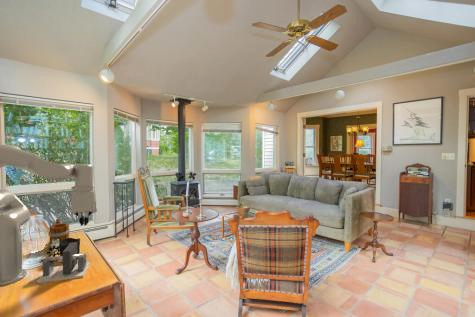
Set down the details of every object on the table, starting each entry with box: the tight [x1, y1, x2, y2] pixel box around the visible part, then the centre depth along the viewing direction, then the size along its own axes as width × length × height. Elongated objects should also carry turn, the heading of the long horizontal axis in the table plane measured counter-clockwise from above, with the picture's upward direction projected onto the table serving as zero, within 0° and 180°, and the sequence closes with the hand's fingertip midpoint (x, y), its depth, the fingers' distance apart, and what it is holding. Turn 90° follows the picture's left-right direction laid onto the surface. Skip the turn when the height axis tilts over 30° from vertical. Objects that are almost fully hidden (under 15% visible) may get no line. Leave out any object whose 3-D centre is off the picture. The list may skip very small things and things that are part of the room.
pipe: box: [42, 252, 87, 276], centre depth 115 cm, size 16×5×8 cm, turn 110°
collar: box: [62, 242, 78, 275], centre depth 115 cm, size 3×11×11 cm, turn 20°
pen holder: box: [59, 237, 81, 256], centre depth 130 cm, size 9×9×10 cm
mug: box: [47, 218, 71, 248], centre depth 146 cm, size 11×16×15 cm, turn 43°
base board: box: [36, 261, 91, 284], centre depth 115 cm, size 18×13×1 cm
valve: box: [46, 239, 60, 257], centre depth 135 cm, size 7×7×12 cm
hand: (84, 224), depth 118 cm, fingers closed
